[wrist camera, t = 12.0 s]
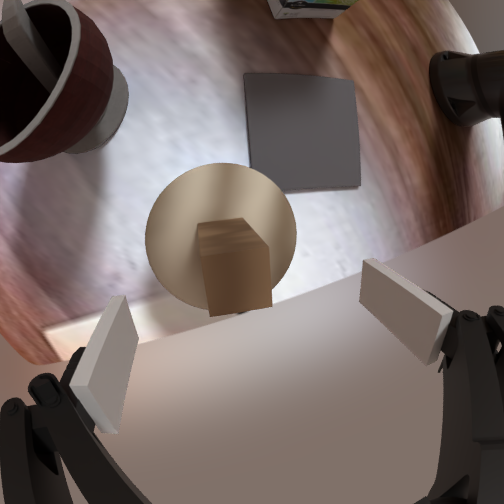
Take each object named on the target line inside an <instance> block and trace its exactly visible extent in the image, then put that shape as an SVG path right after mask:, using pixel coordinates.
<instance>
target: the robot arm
mask: <svg viewBox="0 0 504 504" xmlns="http://www.w3.org/2000/svg"><path fill="white" fill-rule="evenodd" d="M430 79H431V84H432V88H433V91H434V94H435V96H436V99H437V101H438V103H439V105H440V107H441V109H442V110H443V112H444V113H445V115H446V116H447V117H448V118H449V119H450V120H451V121H452V122H453V123H454V124H456V125H458V126H473V125H476V124H478V123H480V122H483V121H485V120H487V119H490V118H501V124H502V131H503V138H504V50H501V51H493V52H486V53H480V54H474V55H471V54H466V53H461V52H455V51H442V52H438V53H436V54H435V55H434V56H433V57H432V59H431V62H430ZM359 302H360V303H361V304H362V305H363V306H364V307H365V308H366V309H368V311H370V312H371V313H372V314H373V315H374V316H375V317H376V318H377V319H378V320H379V321H380V322H381V323H382V324H383V325H384V326H385V327H387V329H389V331H390V332H392V333H393V334H394V335H395V336H396V337H397V338H398V339H399V340H400V341H401V342H402V343H403V344H404V345H405V346H406V347H407V348H408V349H409V350H410V351H411V352H412V353H413V354H414V355H415V356H416V357H417V358H418V359H419V360H420V361H421V362H422V363H423V364H424V365H425V366H427V365H429V364H431V363H433V362H435V361H437V359H438V356H439V353H440V351H442V352H443V353H444V354H445V355H444V357H443V360H442V362H441V365H440V367H439V370H438V373H440V371H441V369H442V368H443V379H444V380H443V382H444V384H443V385H444V397H443V400H444V401H443V424H442V438H441V447H440V456H439V463H438V470H437V475H436V480H435V482H434V484H433V486H432V488H431V490H430V492H429V494H428V496H427V497H426V496H425V497H424V498H422V499H421V500H419V501H417V502H416V503H414V504H504V308H503V307H502V306H491V307H490V308H489V311H488V314H487V316H482V317H480V315H478V314H477V313H475V312H473V311H469V310H463V311H460V312H458V311H456V310H455V309H454V308H452V307H451V306H449V305H448V304H446V303H445V302H443V301H441V300H440V299H439V298H436V296H435V295H433V294H431V293H430V292H428V291H425V290H423V289H421V288H419V287H418V286H416V285H415V284H413V283H412V282H410V281H409V280H407V279H406V278H404V277H403V276H401V275H400V274H398V273H396V272H395V271H393V270H392V269H390V268H389V267H387V266H385V265H384V264H382V263H381V262H379V261H377V260H376V259H374V258H371V259H366V260H363V267H362V279H361V289H360V300H359ZM138 340H139V337H138V334H137V331H136V328H135V325H134V322H133V319H132V316H131V313H130V310H129V306H128V303H127V300H126V296H125V295H121V296H112V298H111V300H110V301H109V303H108V305H107V307H106V309H105V311H104V313H103V314H102V316H101V318H100V320H99V322H98V324H97V326H96V328H95V330H94V332H93V334H92V336H91V338H90V340H89V342H88V344H87V346H86V347H80V348H79V349H78V350H77V351H76V352H75V353H74V354H73V355H72V357H71V359H70V361H69V364H68V365H67V367H66V370H65V371H64V373H63V376H62V378H61V380H60V382H59V381H58V380H57V378H56V377H55V376H54V375H53V374H51V373H43V374H40V375H38V376H36V377H35V378H34V379H32V381H31V382H30V383H29V386H28V392H29V394H30V395H31V397H32V398H33V399H34V401H35V402H36V404H37V405H31V406H26V405H25V403H24V402H23V401H22V400H21V399H19V398H11V399H9V400H7V401H6V402H5V403H4V404H3V406H2V407H1V412H0V467H1V479H2V488H3V495H4V501H5V504H73V501H72V498H71V495H70V492H69V489H68V486H67V482H66V478H65V475H64V471H63V467H62V463H61V458H62V460H63V462H64V463H65V465H66V467H67V469H68V471H69V473H70V474H71V476H72V478H73V479H74V481H75V483H76V484H77V486H78V488H79V489H80V491H81V493H82V494H83V496H84V497H85V499H86V500H87V502H88V503H89V504H152V503H151V502H150V501H149V500H148V499H147V498H146V497H145V496H144V495H143V494H142V493H141V491H139V489H138V488H137V487H136V486H135V485H134V484H133V483H132V481H131V480H130V479H129V478H128V477H127V476H126V474H125V473H124V472H123V471H122V470H121V468H120V467H119V466H118V465H117V463H116V462H115V461H114V459H113V458H112V457H111V455H110V454H109V453H108V451H107V450H106V449H105V447H104V446H103V445H102V443H101V442H100V440H99V439H98V437H97V436H96V435H95V433H94V428H95V425H96V426H97V427H98V429H99V430H100V431H101V433H113V434H118V433H119V427H120V421H121V416H122V410H123V405H124V400H125V395H126V390H127V386H128V381H129V377H130V372H131V367H132V363H133V360H134V355H135V351H136V347H137V343H138ZM499 342H501V344H502V347H501V349H500V351H499V353H498V351H497V350H496V349H497V347H498V344H499ZM60 456H61V458H60Z"/></svg>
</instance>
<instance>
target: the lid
mask: <svg viewBox="0 0 504 504" xmlns="http://www.w3.org/2000/svg"><path fill="white" fill-rule="evenodd" d="M296 235H297V231H296V222H295V218H294V214H293V211H292V208H291V206H290V204H289V202H288V200H287V198H286V196H285V195H284V194H283V192H282V191H281V190H280V188H279V187H278V186H277V185H276V184H275V183H274V182H273V181H271V180H270V179H269V178H268V177H266V176H265V175H263V174H261V173H260V172H258V171H256V170H254V169H251V168H249V167H246V166H242V165H238V164H231V163H213V164H208V165H203V166H200V167H197V168H194V169H191V170H189V171H187V172H185V173H183V174H182V175H180V176H179V177H177V178H176V179H175V180H174V181H172V182H171V183H170V184H169V185H168V186H167V187H166V188H165V189H164V190H163V191H162V193H161V194H160V195H159V197H158V198H157V200H156V201H155V203H154V205H153V207H152V209H151V211H150V214H149V217H148V221H147V225H146V232H145V246H146V253H147V257H148V260H149V263H150V266H151V268H152V270H153V272H154V274H155V276H156V277H157V279H158V280H159V282H160V283H161V284H162V285H163V287H165V288H166V289H167V290H168V291H169V292H170V293H171V294H172V295H174V296H175V297H176V298H178V299H179V300H181V301H183V302H185V303H187V304H189V305H192V306H194V307H198V308H202V309H208V310H209V314H210V317H213V316H220V315H226V314H233V313H239V312H245V311H251V310H256V309H262V308H268V307H272V289H273V288H274V287H275V286H276V285H277V284H278V283H279V281H280V280H281V279H282V278H283V276H284V275H285V273H286V271H287V270H288V268H289V266H290V263H291V261H292V258H293V255H294V252H295V246H296Z"/></svg>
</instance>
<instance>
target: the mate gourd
mask: <svg viewBox="0 0 504 504" xmlns="http://www.w3.org/2000/svg"><path fill="white" fill-rule="evenodd" d="M128 98H129V92H128V85H127V82H126V80H125V77H124V76H123V74H122V73H121V71H120V70H119V69H118V68H117V67H115V66H114V65H113V59H112V56H111V53H110V50H109V47H108V44H107V41H106V39H105V37H104V36H103V34H102V33H101V32H100V30H99V29H98V27H97V26H96V24H95V23H94V22H93V20H92V19H90V18H89V17H88V16H86V15H85V14H84V13H82V12H81V11H80V10H78V9H77V8H75V7H74V6H72V5H71V4H70V3H68V2H66V1H65V0H34V1H31V2H29V3H27V4H25V5H23V4H22V2H21V0H4V2H3V9H2V20H1V21H0V162H5V163H23V162H33V161H38V160H42V159H45V158H48V157H51V156H54V155H56V154H59V153H61V152H65V153H74V154H78V153H84V152H88V151H90V150H93V149H95V148H97V147H98V146H100V145H102V144H103V143H104V142H105V141H107V140H108V139H109V138H110V137H111V136H112V135H113V133H114V132H115V131H116V130H117V128H118V127H119V125H120V124H121V122H122V120H123V118H124V115H125V113H126V110H127V106H128Z"/></svg>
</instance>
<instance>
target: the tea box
mask: <svg viewBox="0 0 504 504" xmlns="http://www.w3.org/2000/svg"><path fill="white" fill-rule="evenodd" d="M267 1H268V4H269V6H270V9H271V11H272V14H273V16H274V18H275V19H284V18H333V19H334V18H336V17H337V16H339V15H340V14H341V13H343V12H344V11H345V10H346V9H348V8H349V7H350V6H352V5H353V4H354V3H355V2H357V1H358V0H267Z"/></svg>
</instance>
